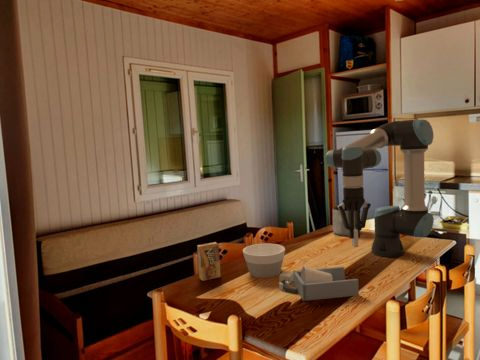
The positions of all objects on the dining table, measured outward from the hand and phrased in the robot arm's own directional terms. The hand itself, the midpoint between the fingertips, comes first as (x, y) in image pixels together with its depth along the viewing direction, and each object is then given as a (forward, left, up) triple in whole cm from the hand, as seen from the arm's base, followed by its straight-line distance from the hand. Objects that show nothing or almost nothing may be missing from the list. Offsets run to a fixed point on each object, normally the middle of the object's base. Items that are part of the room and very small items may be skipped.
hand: (355, 246), depth 151 cm
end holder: (+12, 0, -17) cm, 21 cm away
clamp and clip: (+26, -10, -17) cm, 32 cm away
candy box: (+57, -25, -17) cm, 65 cm away
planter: (-27, -80, -17) cm, 86 cm away
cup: (+10, 0, -13) cm, 17 cm away
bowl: (+32, -26, -17) cm, 45 cm away
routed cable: (+26, -6, -17) cm, 32 cm away
